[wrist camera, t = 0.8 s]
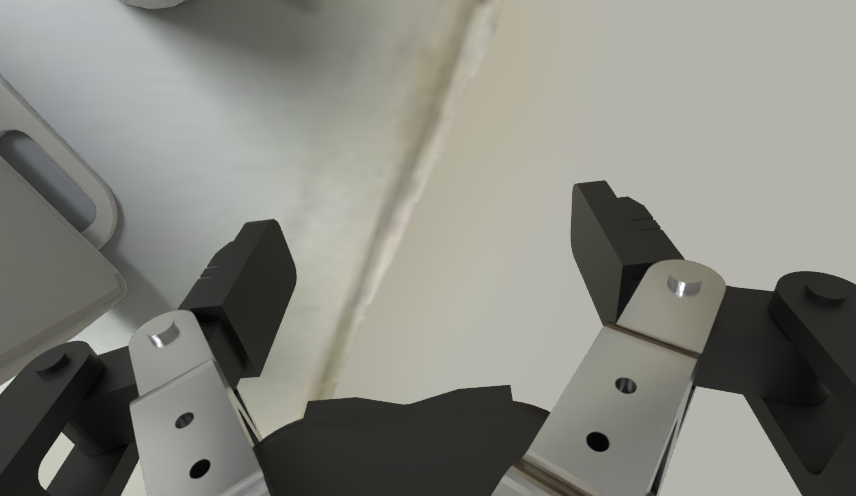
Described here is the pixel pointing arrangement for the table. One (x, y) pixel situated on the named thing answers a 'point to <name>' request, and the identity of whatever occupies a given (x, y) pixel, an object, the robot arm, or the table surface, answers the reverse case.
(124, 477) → the robot arm
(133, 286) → the table surface
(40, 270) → the network device
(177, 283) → the table surface
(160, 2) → the can
